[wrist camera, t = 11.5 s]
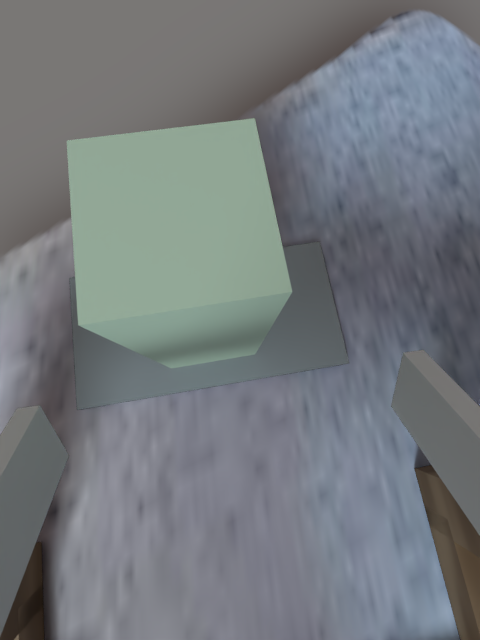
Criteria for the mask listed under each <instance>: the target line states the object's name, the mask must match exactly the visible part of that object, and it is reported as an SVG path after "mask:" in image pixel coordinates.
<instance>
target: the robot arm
mask: <svg viewBox="0 0 480 640" xmlns="http://www.w3.org/2000/svg"><path fill="white" fill-rule="evenodd" d="M391 407H392V408H393V410H394V411H395V413H396V414H397V415H398V417H399V418H400V420H401V421H402V423H403V424H404V426H405V427H406V429H407V430H408V432H409V433H410V434H411V436H412V437H413V439H414V440H415V442H416V443H417V445H418V446H419V448H420V449H421V451H422V452H423V453H424V455H425V456H426V458H427V459H428V461H429V462H430V464H431V465H432V467H433V468H434V470H435V471H436V472H437V474H438V475H439V477H440V478H441V480H442V481H443V483H444V484H445V486H446V487H447V489H448V490H449V491H450V493H451V494H452V496H453V497H454V499H455V500H456V502H457V503H458V505H459V506H460V508H461V509H462V510H463V512H464V513H465V515H466V516H467V518H468V519H469V521H470V522H471V524H472V525H473V527H474V528H475V529H476V531H477V532H478V534H479V535H480V406H479V405H478V404H477V403H476V402H475V401H474V400H473V399H472V398H471V397H470V396H469V395H468V394H467V393H466V392H465V391H464V390H463V389H462V388H461V387H460V386H459V385H458V384H457V383H456V382H455V381H454V380H453V379H452V378H451V377H450V376H449V375H448V374H447V373H446V372H445V371H444V370H443V369H442V368H441V367H440V366H439V365H438V364H437V363H436V362H435V361H434V360H433V359H432V358H431V357H430V356H429V355H428V354H427V353H426V352H425V351H424V350H419V351H412V352H405V353H403V356H402V360H401V365H400V369H399V373H398V378H397V382H396V387H395V391H394V396H393V400H392V405H391ZM68 457H69V455H68V453H67V451H66V449H65V448H64V446H63V444H62V443H61V441H60V439H59V437H58V436H57V434H56V432H55V430H54V429H53V427H52V425H51V424H50V422H49V420H48V418H47V417H46V415H45V413H44V412H43V410H42V408H41V406H40V405H38V406H31V407H24V408H18V409H16V411H15V413H14V414H13V416H12V417H11V419H10V421H9V422H8V424H7V425H6V427H5V429H4V430H3V432H2V433H1V435H0V636H1V633H2V631H3V628H4V625H5V623H6V620H7V618H8V615H9V612H10V610H11V607H12V604H13V602H14V599H15V596H16V594H17V591H18V589H19V586H20V583H21V581H22V578H23V575H24V573H25V570H26V568H27V565H28V562H29V560H30V557H31V554H32V552H33V549H34V546H35V544H36V541H37V539H38V536H39V533H40V531H41V528H42V525H43V523H44V520H45V517H46V515H47V512H48V510H49V507H50V504H51V502H52V499H53V496H54V494H55V491H56V488H57V486H58V483H59V481H60V478H61V475H62V473H63V470H64V467H65V465H66V462H67V460H68Z"/></svg>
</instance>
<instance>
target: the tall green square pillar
mask: <svg viewBox="0 0 480 640" xmlns="http://www.w3.org/2000/svg"><path fill="white" fill-rule="evenodd" d="M67 153H68V167H69V168H68V169H69V184H70V185H69V186H70V201H71V218H72V234H73V250H74V266H75V282H76V298H77V315H78V326H81V327H83V328H85V329H87V330H89V331H91V332H94V333H96V334H98V335H100V336H102V337H104V338H107V339H109V340H111V341H113V342H115V343H117V344H120V345H122V346H124V347H126V348H128V349H130V350H132V351H135V352H137V353H139V354H141V355H143V356H145V357H148V358H150V359H152V360H154V361H156V362H158V363H161V364H163V365H165V366H167V367H169V368H177V367H183V366H189V365H195V364H201V363H207V362H213V361H219V360H225V359H231V358H237V357H243V356H249V355H255V354H256V352H257V350H258V349H259V347H260V345H261V344H262V342H263V340H264V339H265V337H266V335H267V334H268V332H269V330H270V329H271V327H272V325H273V324H274V322H275V320H276V318H277V317H278V315H279V313H280V312H281V310H282V308H283V307H284V305H285V303H286V302H287V300H288V298H289V297H290V295H291V293H292V288H291V283H290V279H289V274H288V270H287V265H286V260H285V256H284V251H283V247H282V242H281V237H280V233H279V228H278V223H277V219H276V214H275V210H274V205H273V200H272V196H271V191H270V186H269V182H268V177H267V173H266V168H265V163H264V159H263V154H262V150H261V145H260V140H259V136H258V131H257V126H256V122H255V118H253V119H245V120H236V121H228V122H219V123H211V124H203V125H194V126H186V127H178V128H169V129H161V130H152V131H144V132H136V133H128V134H119V135H110V136H103V137H94V138H86V139H78V140H69V141H67Z"/></svg>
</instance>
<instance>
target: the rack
mask: <svg viewBox="0 0 480 640" xmlns="http://www.w3.org/2000/svg"><path fill="white" fill-rule="evenodd" d="M414 469H415V472H416V476H417V480H418V484H419V487H420V491H421V495H422V499H423V502H424V506H425V510H426V513H427V517H428V521H429V525H430V528H431V532H432V536H433V539H434V543H435V547H436V551H437V554H438V558H439V562H440V566H441V569H442V573H443V577H444V580H445V584H446V588H447V592H448V595H449V599H450V603H451V607H452V610H453V614H454V618H455V621H456V625H457V629H458V633H459V636H460V640H480V535H479V534H478V532H477V531H476V529H475V528H474V527H473V525H472V524H471V522H470V521H469V519H468V518H467V516H466V515H465V513H464V512H463V510H462V509H461V508H460V506H459V505H458V503H457V502H456V500H455V499H454V497H453V496H452V494H451V493H450V491H449V490H448V489H447V487H446V486H445V484H444V483H443V481H442V480H441V478H440V477H439V475H438V474H437V472H436V471H435V470H434V468H433V467H432V465H429V466H424V467H419V468H414ZM0 640H44V612H43V579H42V546H41V542H37V543H36V544H35V546H34V549H33V552H32V554H31V557H30V560H29V562H28V565H27V568H26V570H25V573H24V575H23V578H22V581H21V583H20V586H19V589H18V591H17V594H16V596H15V599H14V602H13V604H12V607H11V610H10V612H9V615H8V618H7V620H6V623H5V625H4V628H3V631H2V633H1V636H0Z"/></svg>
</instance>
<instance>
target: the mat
mask: <svg viewBox="0 0 480 640" xmlns="http://www.w3.org/2000/svg"><path fill="white" fill-rule="evenodd" d="M283 251H284V256H285V260H286V265H287V270H288V274H289V279H290V283H291V288H292V293H291V295H290V297H289V298H288V300H287V302H286V303H285V305H284V307H283V308H282V310H281V312H280V313H279V315H278V317H277V318H276V320H275V322H274V324H273V325H272V327H271V329H270V330H269V332H268V334H267V335H266V337H265V339H264V340H263V342H262V344H261V345H260V347H259V349H258V350H257V352H256V354H255V355H249V356H243V357H237V358H231V359H225V360H219V361H213V362H207V363H201V364H195V365H189V366H183V367H177V368H169V367H167V366H165V365H163V364H161V363H158V362H156V361H154V360H152V359H150V358H148V357H145V356H143V355H141V354H139V353H137V352H135V351H132V350H130V349H128V348H126V347H124V346H122V345H120V344H117V343H115V342H113V341H111V340H109V339H107V338H104V337H102V336H100V335H98V334H96V333H94V332H91V331H89V330H87V329H85V328H83V327H81V326H78V315H77V298H76V282H75V277H72V278H69V280H70V298H71V316H72V333H73V351H74V369H75V387H76V404H77V410H80V409H87V408H93V407H98V406H104V405H110V404H116V403H122V402H127V401H133V400H139V399H145V398H151V397H157V396H162V395H168V394H174V393H180V392H186V391H192V390H197V389H203V388H209V387H215V386H221V385H226V384H232V383H238V382H244V381H250V380H256V379H261V378H267V377H273V376H279V375H285V374H291V373H296V372H302V371H308V370H314V369H320V368H325V367H331V366H337V365H343V364H348V363H349V360H348V356H347V352H346V348H345V344H344V339H343V335H342V331H341V327H340V323H339V319H338V315H337V311H336V307H335V302H334V298H333V294H332V290H331V286H330V282H329V278H328V274H327V270H326V265H325V261H324V257H323V253H322V249H321V245H320V242H313V243H306V244H299V245H292V246H286V247H283Z"/></svg>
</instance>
